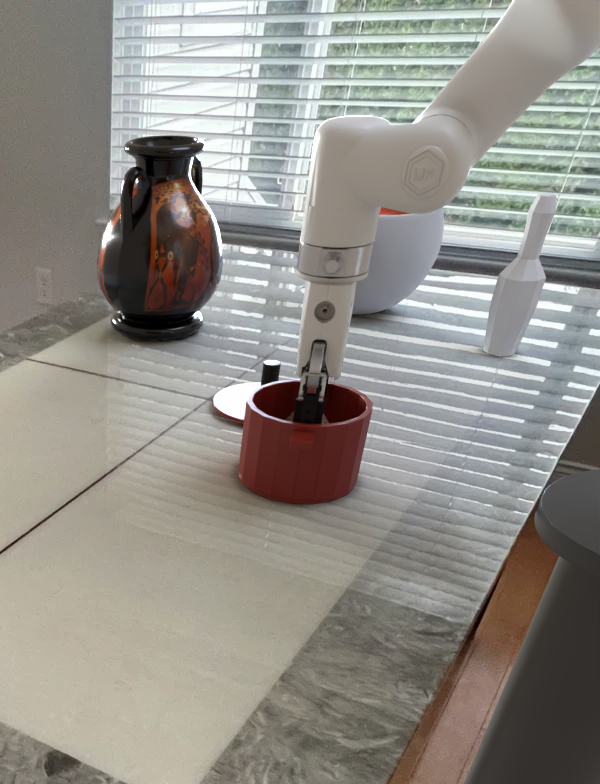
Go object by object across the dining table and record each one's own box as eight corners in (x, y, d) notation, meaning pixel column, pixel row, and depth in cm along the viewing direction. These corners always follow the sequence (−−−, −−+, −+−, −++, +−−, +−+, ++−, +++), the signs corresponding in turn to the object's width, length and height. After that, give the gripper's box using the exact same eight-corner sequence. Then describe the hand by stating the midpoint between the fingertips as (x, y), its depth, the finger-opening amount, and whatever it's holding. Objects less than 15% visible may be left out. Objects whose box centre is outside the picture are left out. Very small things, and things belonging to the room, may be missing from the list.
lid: (323, 393, 126) (331, 348, 121) (316, 435, 115) (325, 386, 110) (220, 386, 129) (224, 341, 125) (204, 425, 118) (208, 377, 114)
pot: (266, 312, 156) (280, 201, 144) (327, 282, 169) (345, 178, 157) (390, 336, 144) (416, 218, 132) (445, 302, 157) (474, 191, 145)
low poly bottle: (497, 360, 134) (546, 201, 119) (469, 348, 138) (513, 193, 124) (529, 354, 135) (581, 196, 121) (500, 342, 140) (547, 188, 125)
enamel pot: (358, 449, 111) (374, 376, 105) (352, 520, 97) (370, 441, 91) (248, 439, 114) (257, 368, 108) (227, 507, 100) (236, 429, 94)
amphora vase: (149, 303, 162) (156, 127, 143) (241, 325, 150) (261, 137, 132) (71, 331, 151) (68, 143, 132) (164, 357, 139) (175, 156, 121)
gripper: (368, 283, 82) (336, 450, 94) (372, 241, 94) (343, 393, 106) (290, 280, 84) (268, 445, 95) (303, 239, 96) (283, 389, 108)
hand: (308, 418), depth 101 cm, fingers open, 9 cm apart
